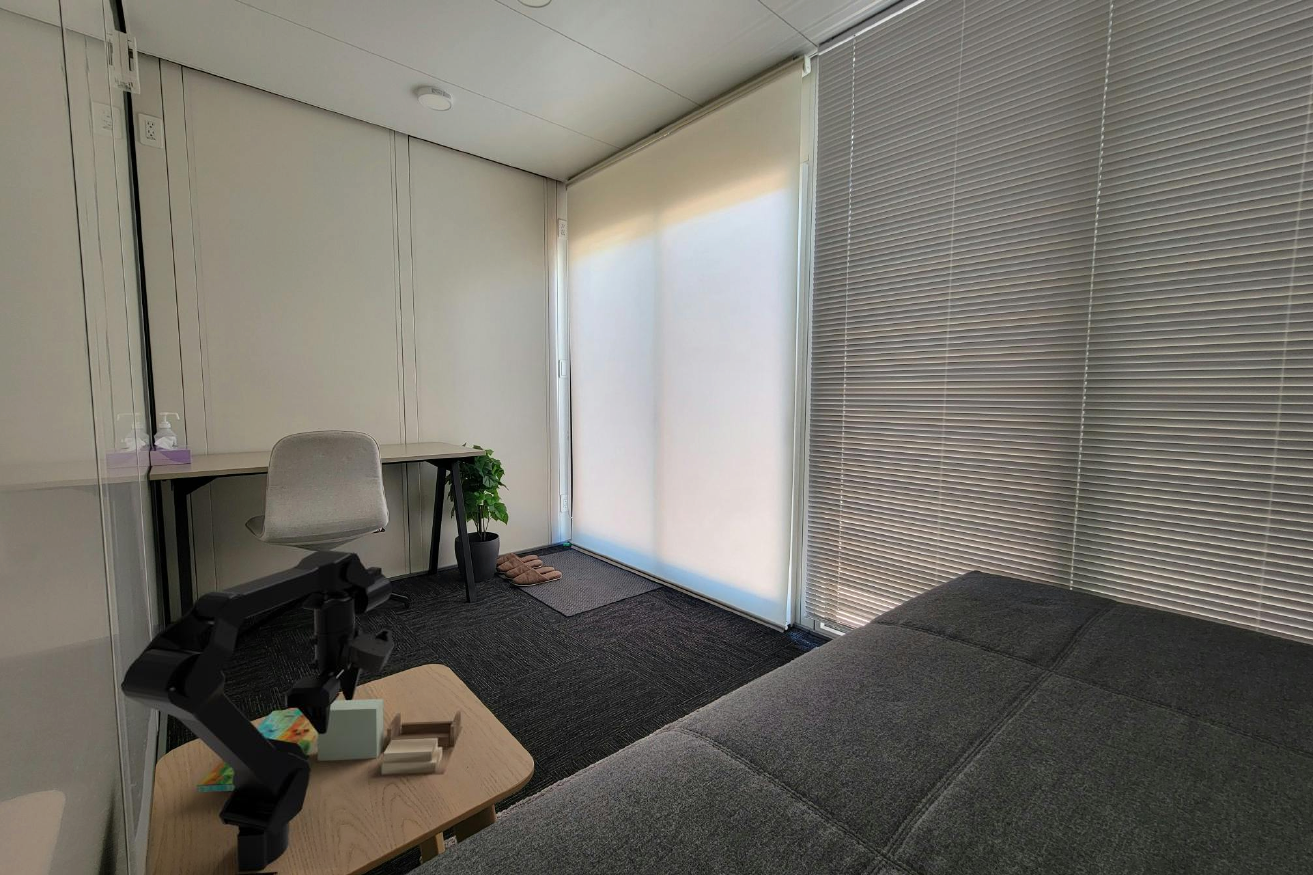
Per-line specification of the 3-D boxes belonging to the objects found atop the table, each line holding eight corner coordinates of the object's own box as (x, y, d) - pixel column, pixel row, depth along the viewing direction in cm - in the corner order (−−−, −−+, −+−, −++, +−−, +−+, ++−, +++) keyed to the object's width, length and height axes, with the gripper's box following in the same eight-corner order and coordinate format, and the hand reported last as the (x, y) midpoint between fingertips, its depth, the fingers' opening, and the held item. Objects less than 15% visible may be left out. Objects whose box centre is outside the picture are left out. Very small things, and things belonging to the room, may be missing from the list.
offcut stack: (435, 771, 92) (435, 752, 92) (381, 774, 91) (381, 755, 91) (442, 756, 96) (442, 737, 96) (390, 758, 95) (390, 739, 95)
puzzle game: (337, 704, 105) (274, 777, 85) (337, 726, 105) (275, 804, 86) (274, 706, 104) (196, 780, 84) (275, 728, 104) (198, 807, 84)
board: (376, 760, 95) (376, 708, 94) (318, 763, 94) (317, 710, 93) (383, 749, 98) (383, 698, 97) (326, 752, 97) (325, 700, 96)
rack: (443, 778, 92) (443, 751, 92) (371, 782, 91) (371, 755, 90) (462, 731, 105) (462, 707, 104) (399, 733, 103) (398, 709, 103)
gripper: (362, 652, 78) (363, 751, 80) (406, 602, 97) (406, 683, 98) (281, 654, 77) (284, 754, 78) (342, 603, 95) (343, 685, 97)
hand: (336, 715), depth 88 cm, fingers open, 9 cm apart
